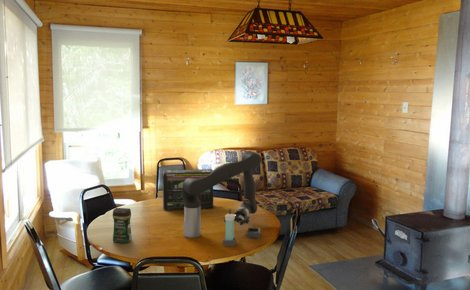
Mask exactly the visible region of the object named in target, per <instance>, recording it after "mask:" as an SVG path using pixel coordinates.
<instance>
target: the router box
mask: <svg viewBox="0 0 470 290" xmlns="http://www.w3.org/2000/svg"><path fill="white" fill-rule="evenodd" d="M213 170H214V169H209V168H208V169H207V168H206V169H205V168H204V169H166V170H165V169H163V170H162V207H163V208H162V209H163V211H179V210H181V211H184V201H183V183H184V181H185V180H186V179H187V178H194V179H196V180H198V179H201V178H204V177H206V176H208V175H209V174H210V173H211V172H212V171H213ZM198 198H199V200H200V202H201V210H211V209H214V186H213V187H211V188H209V189H208V190H206V191H204V192H203V193H201V194H199V195H198Z"/></svg>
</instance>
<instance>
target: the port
mask: <svg viewBox="0 0 470 290" xmlns="http://www.w3.org/2000/svg"><path fill="white" fill-rule="evenodd" d="M246 233H247V234H246V238H248V239H260V238H261V228H260V227H259V228H258V227H248V229H247V232H246Z"/></svg>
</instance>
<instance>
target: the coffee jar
mask: <svg viewBox="0 0 470 290" xmlns="http://www.w3.org/2000/svg"><path fill="white" fill-rule="evenodd" d="M131 211H132V210H131V208H124V207H115V208H113V210H112V219H113V234H112V241H113V242H114V243H117V244H118V243H119V244H126V243H129V242H131V241H132V238H133V237H132V230H131V217H132V212H131Z"/></svg>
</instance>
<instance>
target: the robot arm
mask: <svg viewBox="0 0 470 290" xmlns="http://www.w3.org/2000/svg"><path fill="white" fill-rule="evenodd" d="M261 163H262V156H261V155H260V154H259V153H257V152H254V151H251V150H246V151H244V152H243V154H242V156H241V160H239V161H233V162H232V161H231V162H227V163H224V164H222V165H219V166H217V167H215V168H214V169H212V170H213V171H212V172H211V173H210V174H209V175H208V176H206V177H204V178H201V179H198V180H196V179H194V178H187V179H186V180H185V181H184V183H183V201H184V210H183V211H184V212H183V213H184V217H183V218H184V219H183V221H182V222H183V229H182V230H183V233H182V234H183V237H186V238H190V239H192V238H193V239H195V238H196V239H197V238H199V237H201V226H202V225H201V223H202V222H201V219H202V218H201V216H202V215H201V210H202V209H201V202H200V200H199V198H198V195H199V194H201V193H203V192H204V191H206V190H208V189H209V188H211V187H213V188H214V187H215V186H217V185H219V184H221V183H224V182H225V181H226V182H227V181H228V180H230V179H231V178H234V177H236V176H238V175H240V174H242V173H243V198H244V199H246V200H249V201H245V200H244V201H242V202H241V203H240V207H239V208H237V210H236V211H234V212H233V214H235V219H234V223H238V224H239V226H243V225H245V224H247V225H248V224H249V223H250V221H251V217H250V215H251V214H256V213H257V211H258V205H257V201H256V183H255V180H254V176H253V171H252V170H253V169H256V168H258V167H259V165H261ZM223 222H224V223H225V224H226V220H225V216H223Z"/></svg>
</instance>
